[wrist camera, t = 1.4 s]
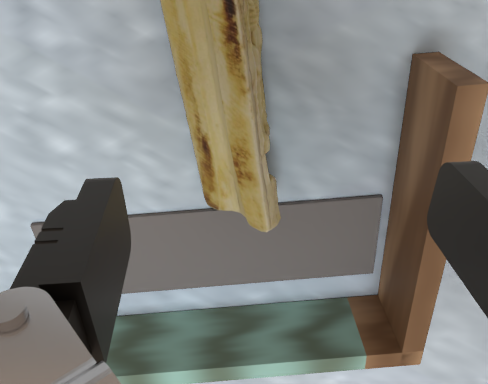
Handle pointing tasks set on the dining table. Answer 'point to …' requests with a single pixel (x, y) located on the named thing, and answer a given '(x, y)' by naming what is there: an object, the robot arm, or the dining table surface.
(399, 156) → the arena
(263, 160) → the plank
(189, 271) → the mat
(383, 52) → the dining table surface
